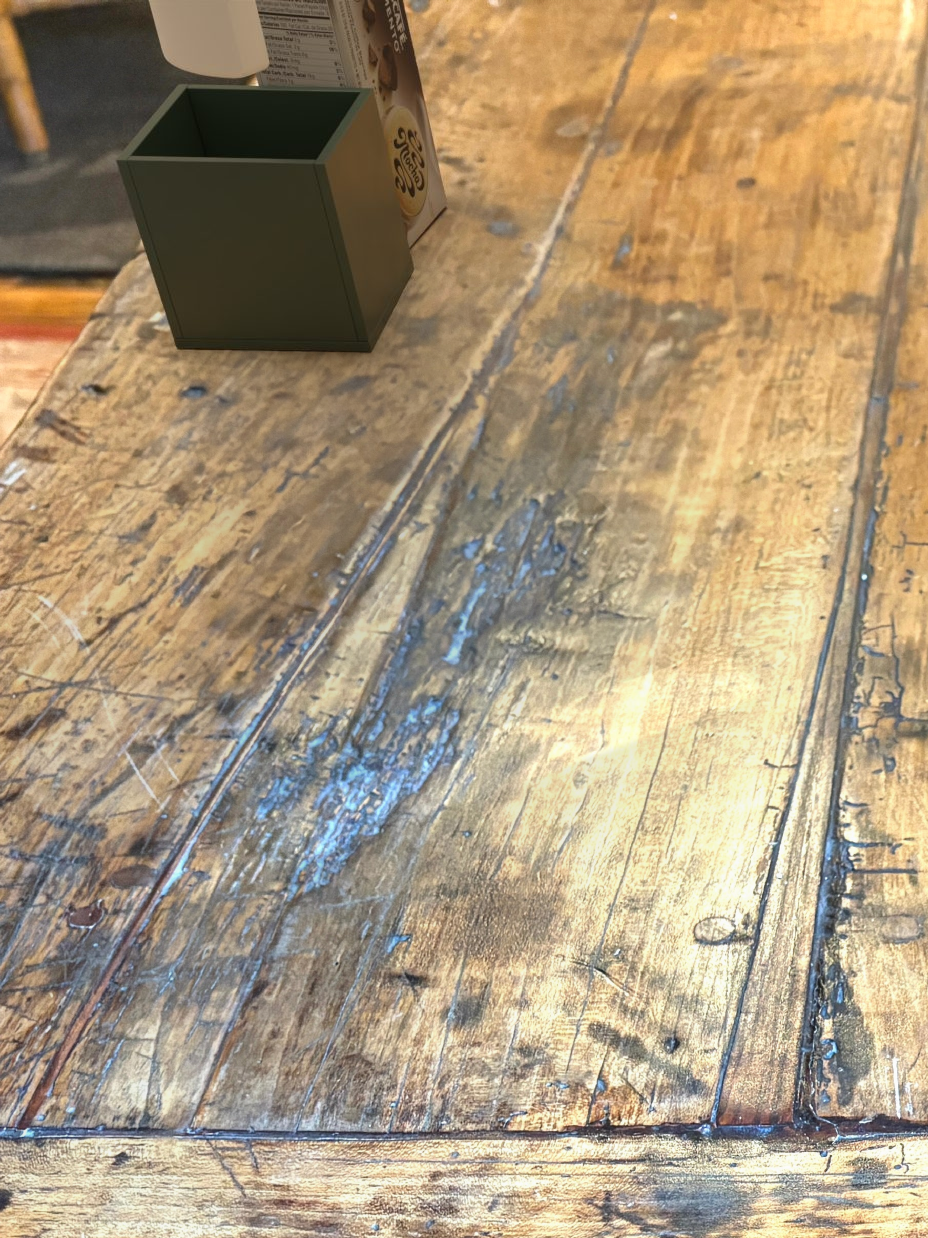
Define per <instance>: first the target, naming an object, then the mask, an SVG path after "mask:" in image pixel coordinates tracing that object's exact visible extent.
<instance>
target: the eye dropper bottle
mask: <svg viewBox="0 0 928 1238" xmlns="http://www.w3.org/2000/svg"><path fill="white" fill-rule="evenodd" d="M148 3H149V7H150V10H151V14H152V18H153V22H154V25H155V29H156V33H157V37H158V40H159V45H160V48H161V52H162V54H163V57H164V58H165V60H166V61H167V62H168V63H169V64H171V65H172V66H174V67H176V68H178V69H180V70H182V71H185V72H189V73H192V74H195V75H199V76H207V77H213V78H223V79H241V78H245V77H249V76H252V75H254V74H255V73H257V72H260V71H262V70H264V69H266V68H267V67H268V66H269V58H268V53H267V49H266V44H265V40H264V36H263V32H262V27H261V23H260V19H259V14H258V10H257V6H256V2H255V0H148Z"/></svg>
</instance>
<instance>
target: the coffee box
mask: <svg viewBox="0 0 928 1238" xmlns="http://www.w3.org/2000/svg"><path fill="white" fill-rule="evenodd" d="M255 2H256V6H257V10H258V14H259V19H260V23H261V27H262V32H263V36H264V40H265V44H266V49H267V53H268V58H269V66H268V67H267V68H266V69H264V70H262V71H260V72H257V73H254V74H255V78H256V81H257V86H293V87H340V88H373V89H374V93H375V98H376V102H377V106H378V111H379V115H380V120H381V124H382V129H383V133H384V138H385V142H386V146H387V151H388V155H389V160H390V164H391V169H392V173H393V177H394V182H395V186H396V191H397V195H398V200H399V204H400V208H401V213H402V217H403V222H404V226H405V231H406V235H407V239H408V244H409V248H410V249H411V247H412V246H413V244H415V242H416V241H417V240H418V239H419V238H420V237H421V235H422V234H423V233H424V232H425V231H426V229H428V227H429V226H430V225H431V224H432V223H433V222H434V220H435V219H436V218H437V217H438V215H440V214H441V212H442V211H443V210H444V209H445V208H446V206H447V205H448V200H447V195H446V191H445V187H444V183H443V179H442V173H441V169H440V165H439V160H438V155H437V151H436V147H435V145H436V144H435V140H434V137H433V132H432V128H431V123H430V118H429V115H428V109H427V105H426V100H425V96H424V91H423V90H424V89H423V86H422V81H421V76H420V72H419V71H420V70H419V67H418V63H417V58H416V54H415V53H416V52H415V48H414V44H413V39H412V35H411V30H410V26H409V20H408V17H407V13H406V12H407V11H406V7H405V3H404V0H255Z"/></svg>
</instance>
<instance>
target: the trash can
mask: <svg viewBox="0 0 928 1238" xmlns="http://www.w3.org/2000/svg"><path fill="white" fill-rule="evenodd" d="M115 162H116V165H117V168H118V171H119V174H120V177H121V180H122V183H123V186H124V189H125V193H126V196H127V199H128V202H129V205H130V208H131V211H132V213H133V217H134V221H135V224H136V227H137V230H138V233H139V236H140V239H141V242H142V245H143V249H144V252H145V255H146V259H147V261H148V264H149V267H150V270H151V273H152V276H153V279H154V283H155V286H156V288H157V291H158V292H157V293H158V295H159V299H160V302H161V304H162V308H163V310H164V313H165V316H166V320H167V323H168V326H169V329H170V332H171V335H172V338H173V341H174V345H175V347H176V349H193V350H195V349H197V350H202V349H203V350H251V351H252V350H257V351H259V350H261V351H309V352H312V351H313V352H315V351H316V352H322V351H323V352H364V353H365V352H366V353H367V352H372V351H373V349H374V347H375V345H376V343H377V341H378V339H379V337H380V335H381V333H382V331H383V329H384V328H385V326H386V324H387V322H388V319H389V317H390V316H391V314H392V312H393V310H394V308H395V307H396V304H397V302H398V300H399V298H400V297H401V294H402V293H403V291H404V289H405V287H406V285H407V283H408V281H409V279H410V277H411V276H412V273H413V271H414V269H415V267H414V263H413V257H412V253H411V247H410V248H409V244H408V239H407V235H406V231H405V226H404V222H403V217H402V213H401V208H400V204H399V200H398V195H397V191H396V186H395V182H394V177H393V173H392V169H391V164H390V160H389V155H388V151H387V146H386V142H385V138H384V133H383V129H382V124H381V120H380V115H379V111H378V106H377V102H376V98H375V93H374V89H373V88H340V87H293V86H259V85H242V84H240V85H239V84H236V85H235V84H197V83H196V84H195V83H193V84H192V83H191V84H188V83H179V84H177V86H176V87H175V88H174V90H172V91H171V93H170V94H169V95H168V97H167V98H166V99H165V100H164V102H162V104H161V105H160V106H159V107H158V109H157V110H156V111H155V112H154V114H152V116H151V117H150V118H149V120H147V122H146V123H145V124H144V125H143V127H142V128H141V129H140V130H139V132H138V133H137V134H136V135H135V136H134V137H133V139H132V140H131V141H130V142H129V144H128V145H127V146H126V147H125V148H124V149H123V151H122V152H121V153H120V154H119V156H117V158H116V159H115Z"/></svg>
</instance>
